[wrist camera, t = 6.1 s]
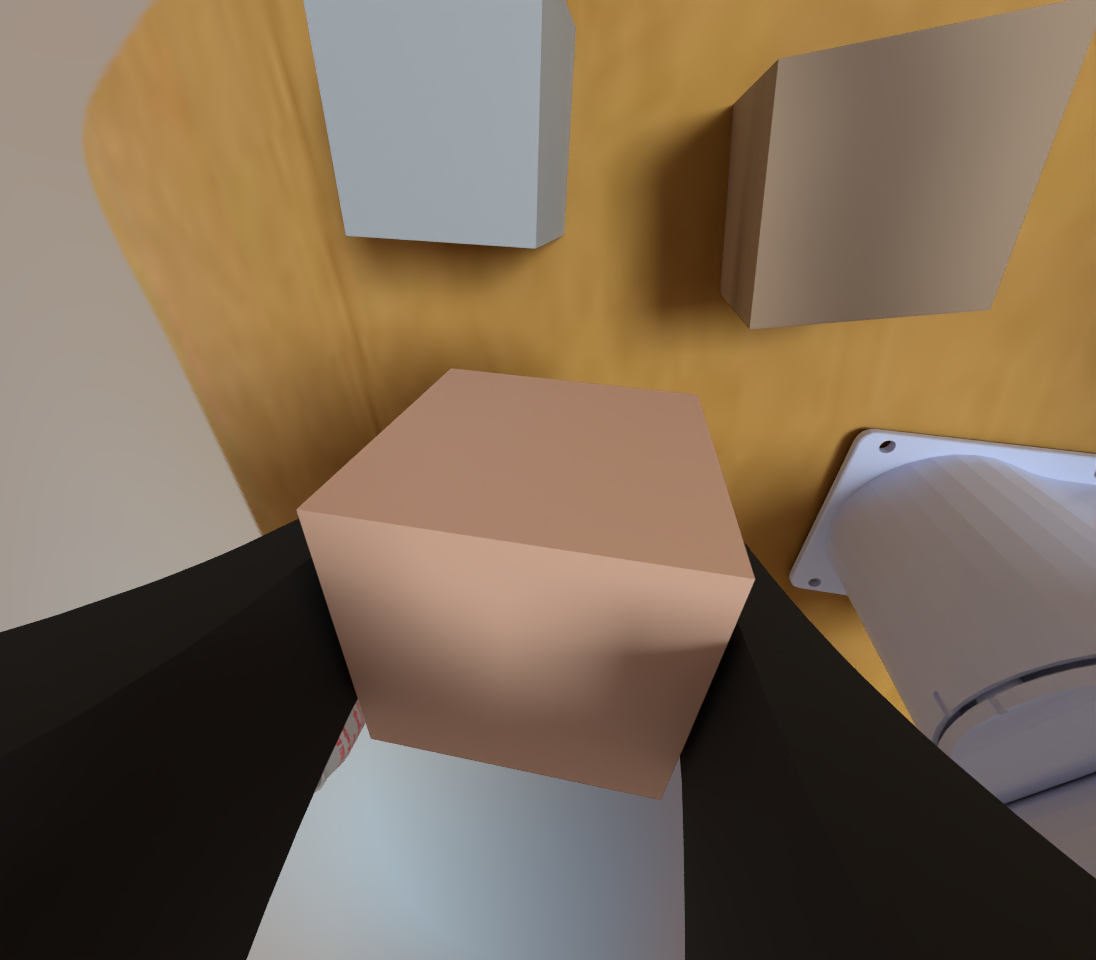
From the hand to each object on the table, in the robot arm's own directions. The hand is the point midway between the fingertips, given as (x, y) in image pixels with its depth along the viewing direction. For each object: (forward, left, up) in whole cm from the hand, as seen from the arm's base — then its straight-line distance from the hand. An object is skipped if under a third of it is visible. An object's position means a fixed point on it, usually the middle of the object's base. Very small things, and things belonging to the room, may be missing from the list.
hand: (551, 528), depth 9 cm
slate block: (+4, -7, -10) cm, 13 cm away
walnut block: (-6, -6, -10) cm, 13 cm away
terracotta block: (0, 0, -2) cm, 2 cm away
